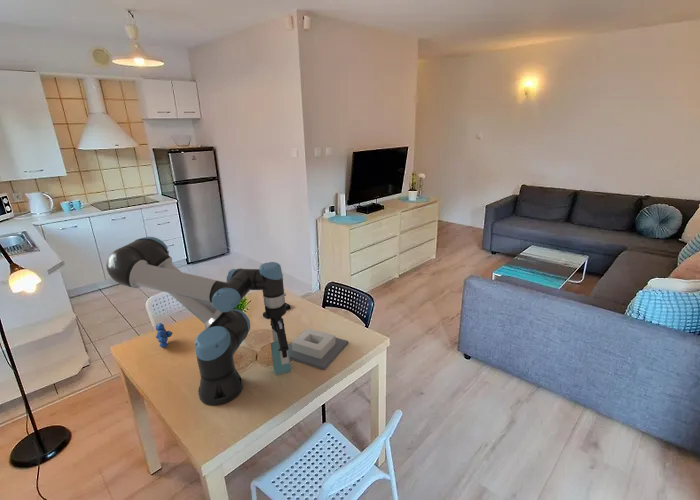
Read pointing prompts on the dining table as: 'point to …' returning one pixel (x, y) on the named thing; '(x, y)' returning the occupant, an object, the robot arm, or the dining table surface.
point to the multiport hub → (286, 310)
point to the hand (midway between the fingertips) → (281, 353)
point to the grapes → (162, 335)
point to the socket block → (316, 348)
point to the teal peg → (279, 359)
